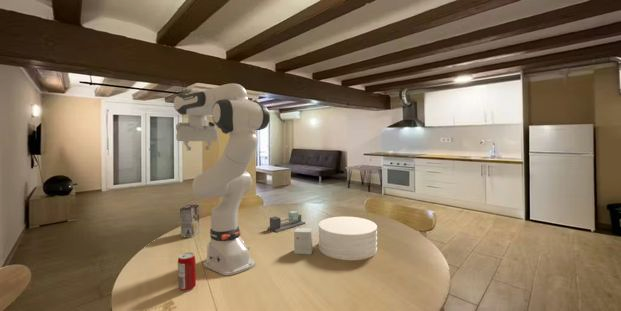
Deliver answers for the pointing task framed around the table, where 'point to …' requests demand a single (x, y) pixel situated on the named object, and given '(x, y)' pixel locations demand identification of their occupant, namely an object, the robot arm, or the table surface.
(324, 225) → the plate stack
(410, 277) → the table surface
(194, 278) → the soda can
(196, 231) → the coffee box
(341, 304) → the table surface
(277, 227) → the slider rail mechanism
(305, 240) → the small box
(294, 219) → the sleeve
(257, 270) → the table surface
